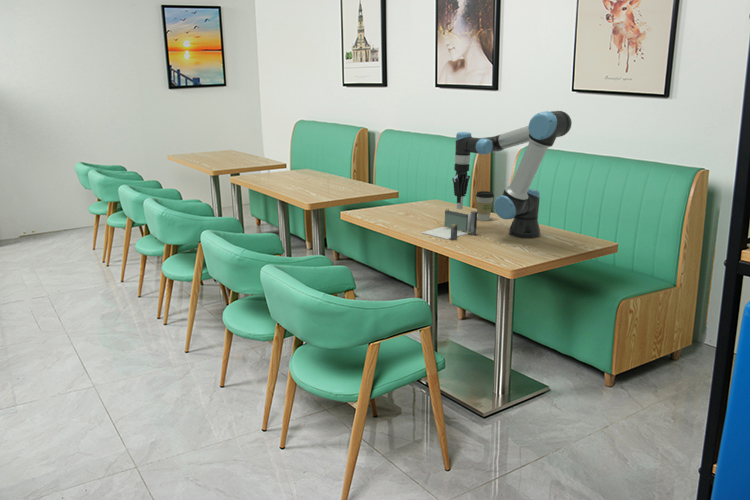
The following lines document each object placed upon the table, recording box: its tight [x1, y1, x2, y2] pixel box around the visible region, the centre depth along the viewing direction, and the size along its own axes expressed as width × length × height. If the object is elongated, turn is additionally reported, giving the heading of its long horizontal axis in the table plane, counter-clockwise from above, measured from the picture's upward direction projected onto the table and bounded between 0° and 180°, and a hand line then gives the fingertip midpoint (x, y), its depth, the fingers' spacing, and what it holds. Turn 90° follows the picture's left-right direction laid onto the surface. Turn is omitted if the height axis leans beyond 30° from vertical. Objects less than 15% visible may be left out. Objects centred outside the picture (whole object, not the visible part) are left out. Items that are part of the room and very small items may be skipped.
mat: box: [420, 226, 470, 240], centre depth 312 cm, size 17×17×1 cm
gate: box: [444, 207, 471, 233], centre depth 315 cm, size 16×2×10 cm, turn 44°
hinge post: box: [469, 210, 478, 236], centre depth 308 cm, size 3×3×12 cm
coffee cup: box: [475, 190, 495, 222], centre depth 340 cm, size 10×10×15 cm
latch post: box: [450, 224, 458, 241], centre depth 299 cm, size 2×3×7 cm
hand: (459, 208), depth 321 cm, fingers closed
